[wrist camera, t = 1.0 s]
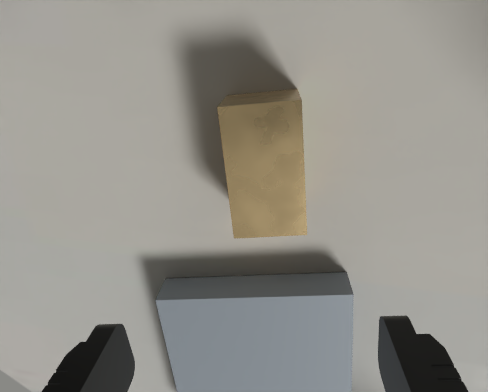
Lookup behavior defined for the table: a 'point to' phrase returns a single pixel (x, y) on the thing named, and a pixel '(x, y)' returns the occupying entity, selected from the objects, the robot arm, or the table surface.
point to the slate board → (259, 332)
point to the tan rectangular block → (264, 163)
